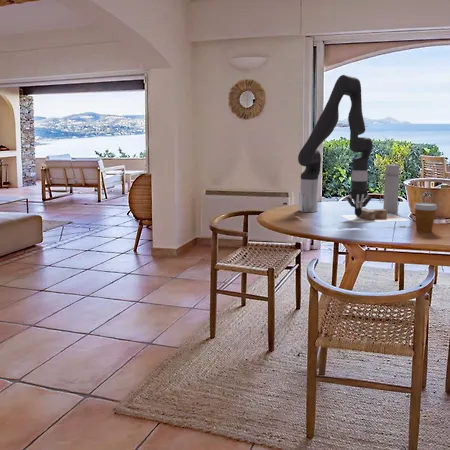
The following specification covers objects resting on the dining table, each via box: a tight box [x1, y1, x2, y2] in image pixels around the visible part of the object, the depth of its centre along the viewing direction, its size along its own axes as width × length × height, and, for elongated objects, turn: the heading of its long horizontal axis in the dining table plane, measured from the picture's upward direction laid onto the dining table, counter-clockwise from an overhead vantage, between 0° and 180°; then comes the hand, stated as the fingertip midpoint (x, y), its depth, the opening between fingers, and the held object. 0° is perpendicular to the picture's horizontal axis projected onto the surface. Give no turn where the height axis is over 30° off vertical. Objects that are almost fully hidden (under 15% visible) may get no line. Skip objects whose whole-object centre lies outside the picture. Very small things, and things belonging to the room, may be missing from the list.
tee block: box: [357, 207, 388, 221], centre depth 266 cm, size 12×12×4 cm
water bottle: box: [379, 164, 401, 214], centre depth 287 cm, size 9×8×25 cm
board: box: [338, 213, 411, 224], centre depth 266 cm, size 28×20×1 cm
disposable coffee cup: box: [413, 202, 438, 234], centre depth 239 cm, size 10×10×12 cm
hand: (357, 215), depth 264 cm, fingers closed
